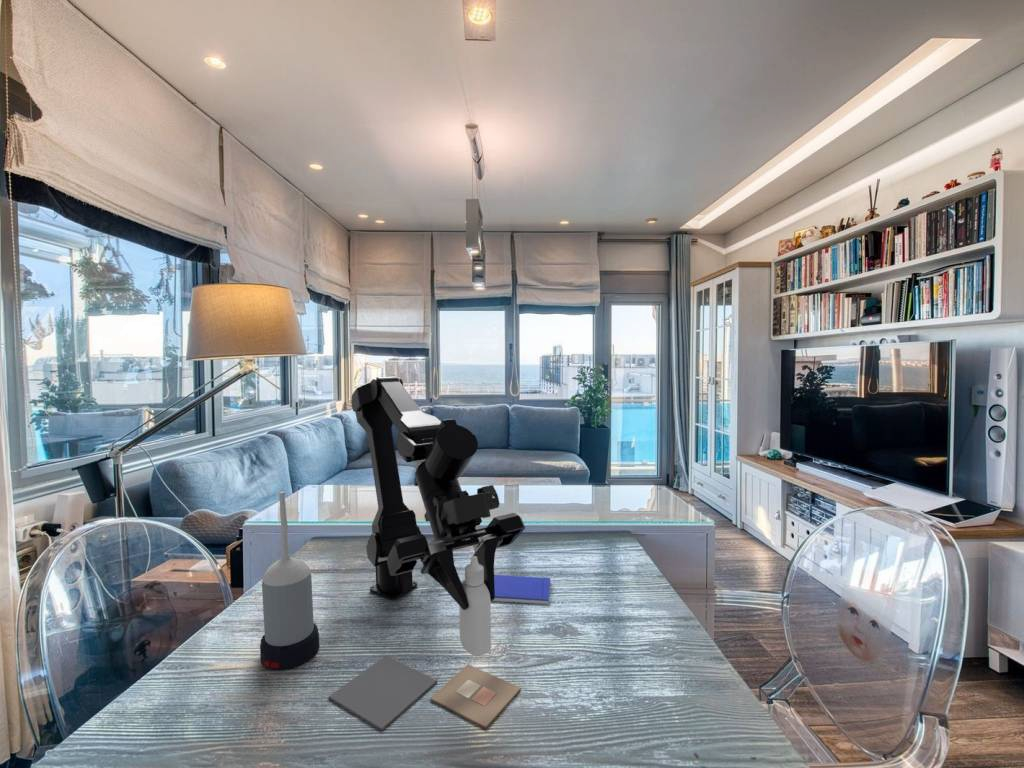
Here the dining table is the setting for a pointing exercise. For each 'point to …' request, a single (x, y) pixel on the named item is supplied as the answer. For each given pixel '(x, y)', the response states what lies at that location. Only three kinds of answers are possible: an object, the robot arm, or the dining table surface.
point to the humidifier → (287, 609)
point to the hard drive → (522, 589)
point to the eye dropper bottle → (475, 611)
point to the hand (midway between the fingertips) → (479, 604)
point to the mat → (383, 691)
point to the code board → (476, 695)
